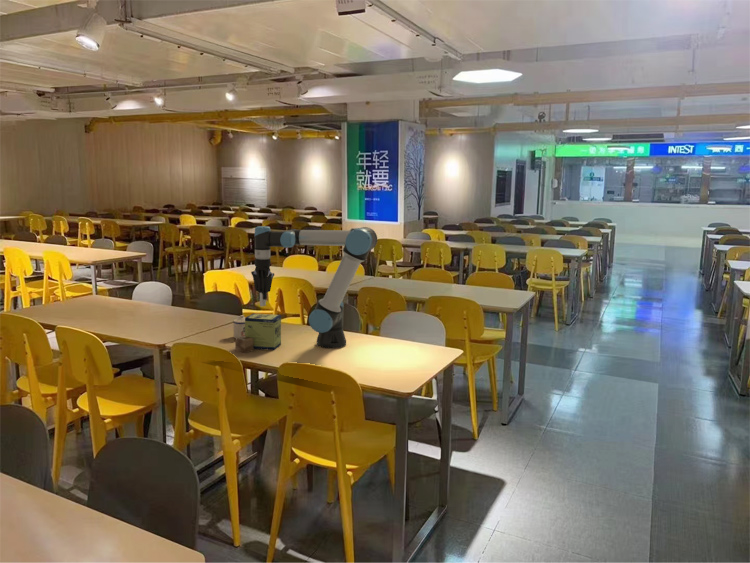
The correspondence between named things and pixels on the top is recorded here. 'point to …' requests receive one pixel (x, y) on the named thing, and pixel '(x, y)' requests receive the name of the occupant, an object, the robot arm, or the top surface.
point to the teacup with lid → (239, 327)
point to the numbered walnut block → (244, 344)
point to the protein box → (264, 330)
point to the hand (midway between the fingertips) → (262, 305)
